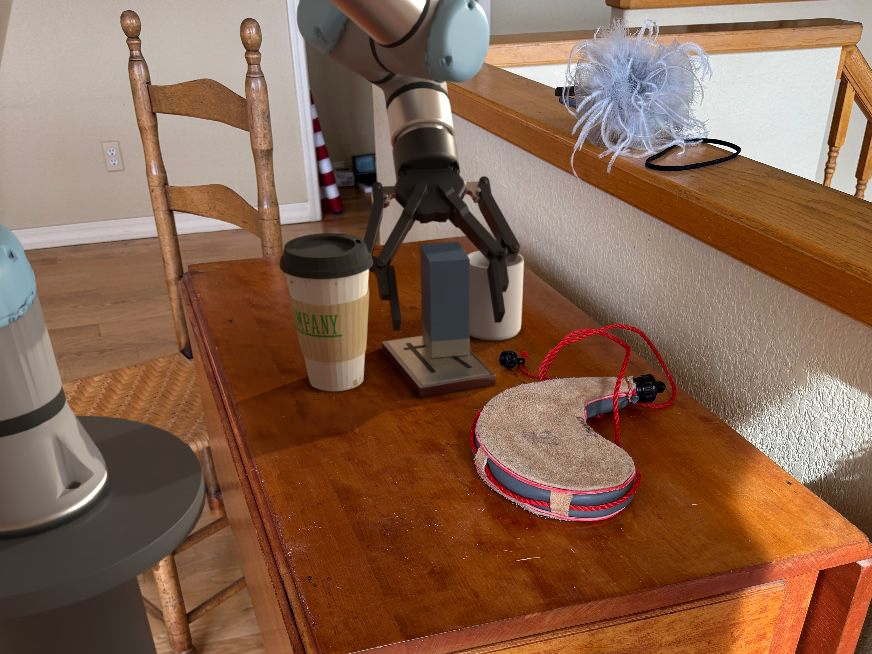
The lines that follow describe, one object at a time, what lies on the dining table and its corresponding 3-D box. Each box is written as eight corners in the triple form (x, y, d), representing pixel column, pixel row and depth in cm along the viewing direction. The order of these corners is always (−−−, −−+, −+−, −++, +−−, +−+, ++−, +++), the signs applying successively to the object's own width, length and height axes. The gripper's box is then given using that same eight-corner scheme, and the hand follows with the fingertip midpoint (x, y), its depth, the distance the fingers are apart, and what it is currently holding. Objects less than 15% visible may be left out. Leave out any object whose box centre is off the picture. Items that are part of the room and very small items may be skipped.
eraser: (431, 358, 107) (429, 261, 101) (422, 337, 112) (419, 244, 106) (469, 355, 108) (470, 259, 101) (458, 334, 113) (458, 241, 106)
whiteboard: (420, 397, 102) (419, 386, 101) (382, 350, 113) (381, 340, 112) (495, 384, 105) (495, 373, 104) (451, 340, 115) (451, 329, 114)
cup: (476, 344, 114) (477, 271, 108) (448, 317, 121) (447, 247, 116) (530, 336, 116) (533, 263, 110) (498, 309, 123) (500, 240, 118)
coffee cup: (285, 369, 108) (268, 237, 99) (366, 357, 111) (357, 227, 102) (304, 404, 101) (288, 264, 92) (390, 390, 104) (383, 253, 95)
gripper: (515, 158, 114) (542, 327, 111) (322, 168, 110) (345, 343, 108) (528, 118, 106) (557, 298, 104) (322, 128, 103) (346, 314, 100)
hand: (449, 321), depth 106 cm, fingers open, 11 cm apart
